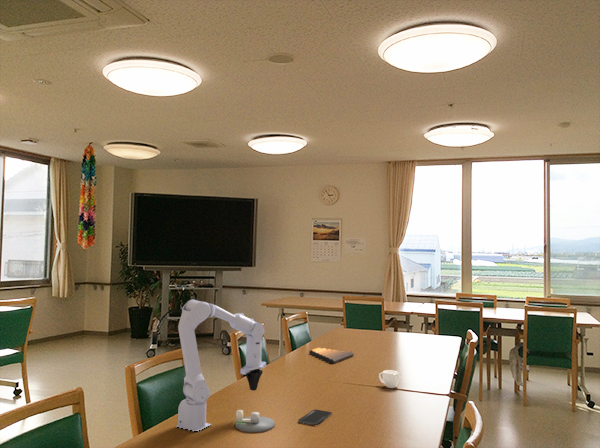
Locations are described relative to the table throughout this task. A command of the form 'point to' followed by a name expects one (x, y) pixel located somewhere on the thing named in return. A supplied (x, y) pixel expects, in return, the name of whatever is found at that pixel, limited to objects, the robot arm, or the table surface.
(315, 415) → the phone
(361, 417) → the table surface
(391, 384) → the cup
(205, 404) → the robot arm
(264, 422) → the dial plate
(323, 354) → the pan flute
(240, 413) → the tuning lever
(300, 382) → the table surface
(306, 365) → the table surface
